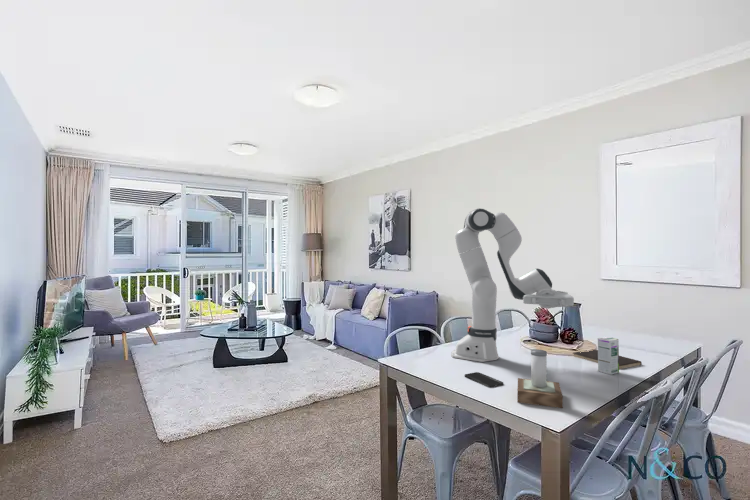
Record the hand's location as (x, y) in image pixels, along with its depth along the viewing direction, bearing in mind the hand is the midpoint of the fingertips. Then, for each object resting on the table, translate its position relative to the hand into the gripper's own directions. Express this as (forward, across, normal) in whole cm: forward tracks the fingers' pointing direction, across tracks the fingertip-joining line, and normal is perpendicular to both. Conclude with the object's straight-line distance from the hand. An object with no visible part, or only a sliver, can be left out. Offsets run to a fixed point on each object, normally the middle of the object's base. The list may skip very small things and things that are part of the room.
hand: (548, 302), depth 166 cm
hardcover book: (-31, +27, +31) cm, 51 cm away
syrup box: (-11, +24, +30) cm, 40 cm away
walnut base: (+31, -5, +30) cm, 44 cm away
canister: (+31, -5, +26) cm, 41 cm away
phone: (+19, -25, +30) cm, 44 cm away
